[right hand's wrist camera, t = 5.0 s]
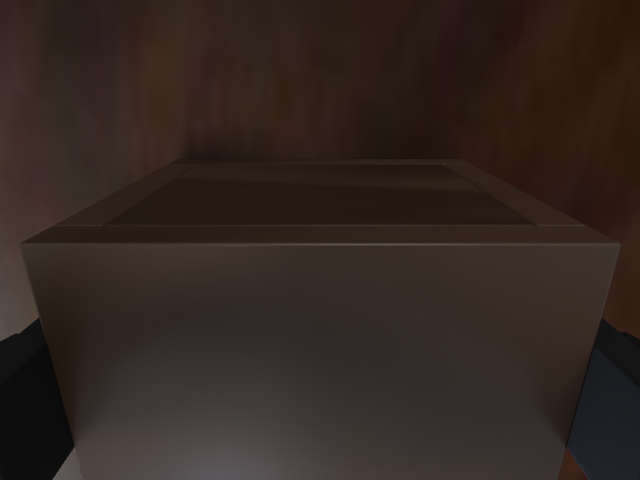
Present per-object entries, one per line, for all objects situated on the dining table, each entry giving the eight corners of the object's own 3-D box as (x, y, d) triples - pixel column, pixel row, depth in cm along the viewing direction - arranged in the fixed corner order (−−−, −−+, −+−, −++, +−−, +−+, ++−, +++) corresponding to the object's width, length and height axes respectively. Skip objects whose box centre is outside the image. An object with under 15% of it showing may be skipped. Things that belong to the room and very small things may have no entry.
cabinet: (417, 535, 23) (473, 791, 15) (222, 535, 23) (167, 791, 15) (462, 158, 16) (623, 243, 7) (177, 158, 16) (17, 243, 7)
